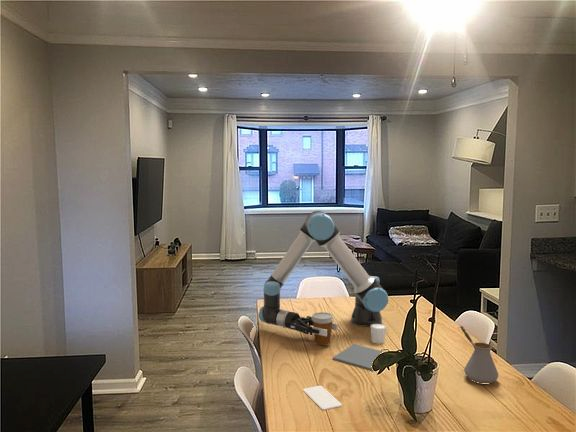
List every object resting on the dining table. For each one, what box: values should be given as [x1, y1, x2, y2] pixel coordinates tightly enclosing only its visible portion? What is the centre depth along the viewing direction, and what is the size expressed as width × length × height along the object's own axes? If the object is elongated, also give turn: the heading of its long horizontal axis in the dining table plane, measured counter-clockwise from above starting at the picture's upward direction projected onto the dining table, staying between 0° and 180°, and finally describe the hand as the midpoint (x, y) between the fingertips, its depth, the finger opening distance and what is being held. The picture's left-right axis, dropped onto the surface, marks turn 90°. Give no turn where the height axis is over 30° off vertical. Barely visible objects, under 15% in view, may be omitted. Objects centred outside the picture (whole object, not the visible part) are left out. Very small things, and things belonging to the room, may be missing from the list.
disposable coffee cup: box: [311, 312, 334, 346], centre depth 196 cm, size 10×10×12 cm
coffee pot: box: [457, 325, 499, 384], centre depth 170 cm, size 21×12×15 cm, turn 8°
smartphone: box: [303, 385, 343, 411], centre depth 152 cm, size 7×1×15 cm
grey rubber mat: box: [332, 343, 385, 371], centre depth 184 cm, size 18×18×1 cm
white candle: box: [369, 323, 387, 345], centre depth 202 cm, size 7×7×7 cm
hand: (332, 330), depth 193 cm, fingers closed on disposable coffee cup, 8 cm apart
